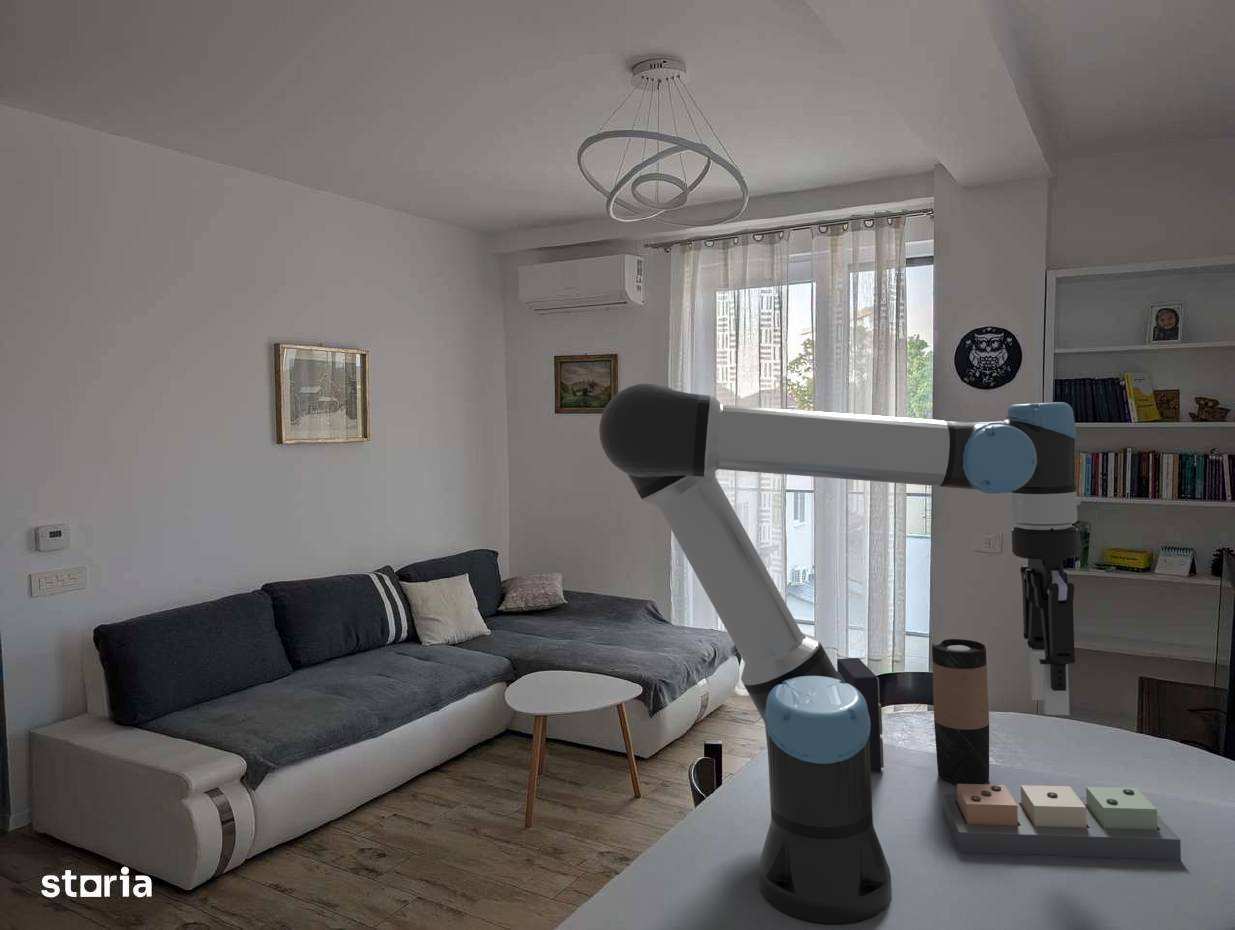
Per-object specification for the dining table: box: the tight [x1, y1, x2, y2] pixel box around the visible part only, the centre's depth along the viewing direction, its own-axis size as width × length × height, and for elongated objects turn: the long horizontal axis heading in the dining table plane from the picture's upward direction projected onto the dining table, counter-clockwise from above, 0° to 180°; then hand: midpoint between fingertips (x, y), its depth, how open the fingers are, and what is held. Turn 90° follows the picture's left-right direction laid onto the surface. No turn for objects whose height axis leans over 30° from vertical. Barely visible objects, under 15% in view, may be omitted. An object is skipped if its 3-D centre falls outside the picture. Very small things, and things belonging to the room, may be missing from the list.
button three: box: [956, 783, 1018, 826], centre depth 111 cm, size 6×6×3 cm
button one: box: [1020, 784, 1087, 828], centre depth 109 cm, size 6×6×3 cm
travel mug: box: [931, 638, 990, 787], centre depth 127 cm, size 8×8×20 cm
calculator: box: [836, 657, 885, 773], centre depth 136 cm, size 11×4×15 cm, turn 179°
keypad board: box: [941, 793, 1182, 861], centre depth 109 cm, size 25×11×2 cm, turn 79°
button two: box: [1085, 786, 1158, 830], centre depth 108 cm, size 6×6×3 cm
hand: (1049, 705), depth 108 cm, fingers open, 5 cm apart
